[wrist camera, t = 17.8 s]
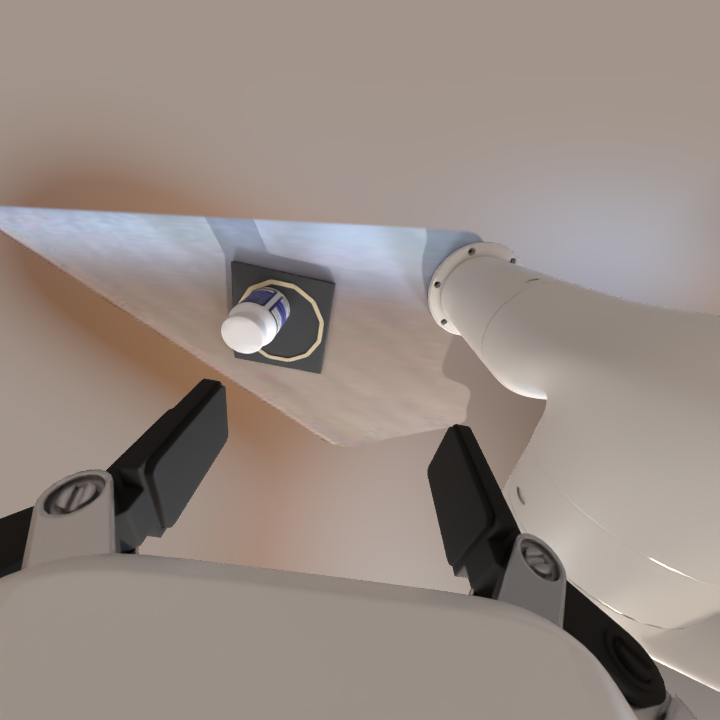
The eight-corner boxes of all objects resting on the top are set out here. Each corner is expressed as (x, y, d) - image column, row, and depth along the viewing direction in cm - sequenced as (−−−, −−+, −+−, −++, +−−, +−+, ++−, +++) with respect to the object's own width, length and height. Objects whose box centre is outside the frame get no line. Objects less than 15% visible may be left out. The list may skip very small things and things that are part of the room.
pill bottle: (243, 308, 37) (207, 338, 29) (262, 277, 35) (228, 299, 26) (278, 332, 39) (253, 366, 30) (298, 303, 37) (277, 332, 28)
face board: (335, 283, 36) (334, 284, 35) (321, 372, 43) (320, 374, 42) (233, 260, 34) (230, 261, 34) (236, 356, 42) (234, 358, 41)
